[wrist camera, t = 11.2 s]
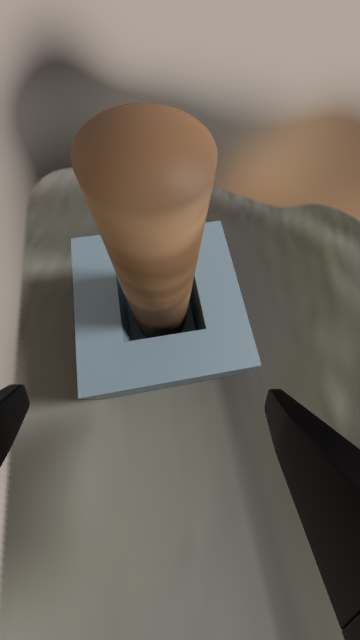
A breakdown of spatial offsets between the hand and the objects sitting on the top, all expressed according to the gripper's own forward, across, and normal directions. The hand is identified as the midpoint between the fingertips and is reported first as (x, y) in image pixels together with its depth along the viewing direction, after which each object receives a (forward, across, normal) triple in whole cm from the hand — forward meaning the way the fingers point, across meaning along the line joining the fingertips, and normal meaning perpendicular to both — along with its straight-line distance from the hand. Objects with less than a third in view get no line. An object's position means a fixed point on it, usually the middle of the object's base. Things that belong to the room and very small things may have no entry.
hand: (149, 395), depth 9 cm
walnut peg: (+10, 0, +2) cm, 10 cm away
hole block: (+10, 0, +2) cm, 11 cm away
